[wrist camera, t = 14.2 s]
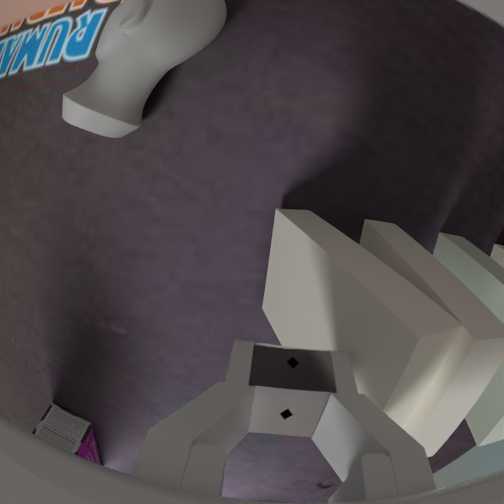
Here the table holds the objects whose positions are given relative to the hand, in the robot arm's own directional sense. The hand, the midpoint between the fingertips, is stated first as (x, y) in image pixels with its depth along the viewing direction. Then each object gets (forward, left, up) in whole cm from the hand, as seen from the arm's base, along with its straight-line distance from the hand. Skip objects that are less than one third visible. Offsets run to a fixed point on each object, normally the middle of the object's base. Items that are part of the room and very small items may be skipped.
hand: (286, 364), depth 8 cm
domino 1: (0, 0, -7) cm, 7 cm away
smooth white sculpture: (-7, +9, -8) cm, 14 cm away
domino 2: (+4, 0, -7) cm, 8 cm away
